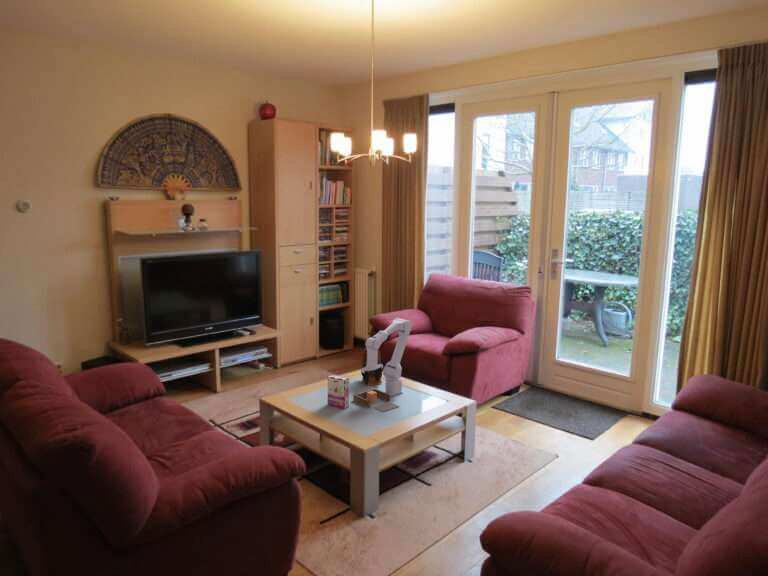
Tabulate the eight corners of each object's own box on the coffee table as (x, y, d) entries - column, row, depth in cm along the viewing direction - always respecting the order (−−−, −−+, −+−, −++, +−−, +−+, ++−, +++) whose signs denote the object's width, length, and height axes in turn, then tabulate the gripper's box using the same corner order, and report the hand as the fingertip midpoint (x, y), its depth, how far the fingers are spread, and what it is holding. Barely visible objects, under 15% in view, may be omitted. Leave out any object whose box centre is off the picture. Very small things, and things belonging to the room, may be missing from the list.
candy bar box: (349, 406, 296) (349, 377, 293) (344, 409, 291) (345, 380, 288) (332, 402, 301) (332, 373, 298) (327, 405, 296) (327, 376, 293)
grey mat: (389, 402, 302) (389, 401, 302) (399, 406, 297) (399, 406, 296) (373, 407, 294) (373, 406, 294) (382, 412, 289) (383, 411, 288)
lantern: (388, 383, 333) (390, 335, 328) (374, 388, 324) (375, 339, 319) (368, 376, 345) (370, 330, 339) (354, 381, 335) (355, 334, 330)
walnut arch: (374, 394, 314) (374, 388, 314) (390, 400, 305) (390, 395, 304) (353, 400, 304) (353, 394, 303) (368, 407, 294) (368, 401, 294)
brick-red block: (372, 399, 307) (372, 390, 306) (376, 401, 304) (377, 392, 303) (366, 400, 304) (366, 392, 303) (371, 402, 301) (371, 394, 301)
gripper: (377, 355, 308) (376, 378, 311) (357, 359, 299) (357, 383, 301) (385, 358, 303) (384, 381, 305) (365, 362, 294) (365, 386, 296)
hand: (371, 382), depth 303 cm, fingers open, 7 cm apart
